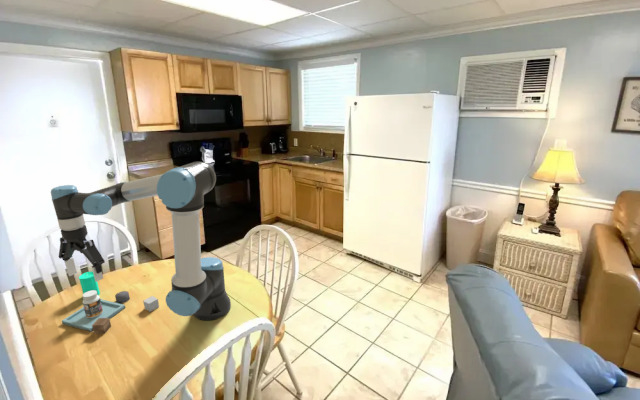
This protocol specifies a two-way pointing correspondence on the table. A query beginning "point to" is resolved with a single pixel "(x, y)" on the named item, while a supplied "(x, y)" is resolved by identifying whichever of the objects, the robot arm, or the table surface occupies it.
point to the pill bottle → (92, 304)
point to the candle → (88, 282)
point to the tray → (86, 323)
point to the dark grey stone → (122, 297)
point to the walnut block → (101, 325)
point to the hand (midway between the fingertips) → (86, 277)
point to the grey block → (151, 303)
